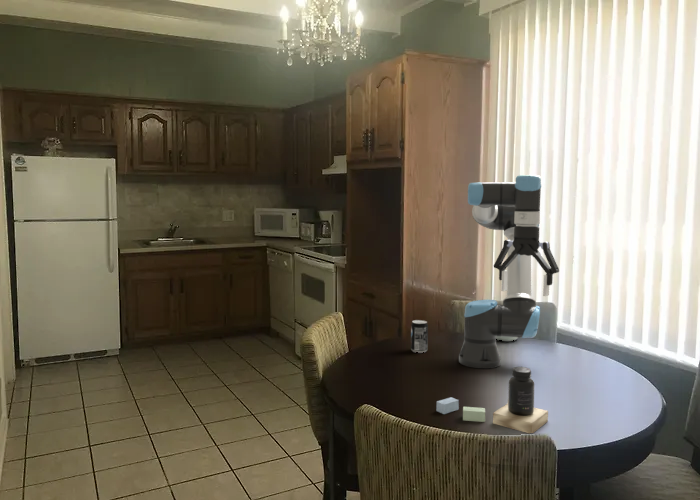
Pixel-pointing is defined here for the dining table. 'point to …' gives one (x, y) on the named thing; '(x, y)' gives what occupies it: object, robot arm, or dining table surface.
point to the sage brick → (474, 414)
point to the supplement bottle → (521, 392)
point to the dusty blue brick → (447, 405)
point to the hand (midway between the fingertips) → (524, 293)
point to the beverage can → (419, 336)
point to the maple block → (520, 419)
